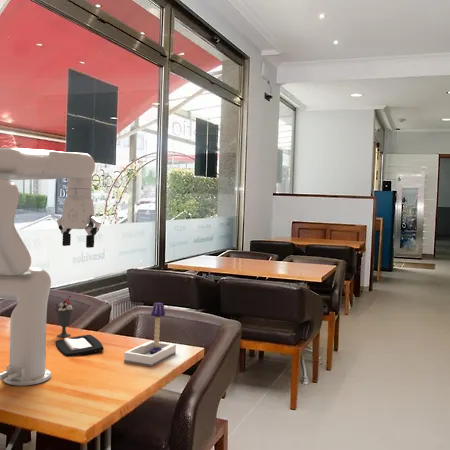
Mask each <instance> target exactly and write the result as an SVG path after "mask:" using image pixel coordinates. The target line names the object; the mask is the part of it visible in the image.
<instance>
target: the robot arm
mask: <svg viewBox="0 0 450 450" xmlns="http://www.w3.org/2000/svg"><path fill="white" fill-rule="evenodd" d="M95 163H96V162H95V160H94V157H92V156H91V154H89V153H85V152H70V151H67V152H66V151H59V150H58V151H56V150H49V149H38V148H37V149H35V148H22V147H20V148H19V147H0V299H2V300H9V301H10V300H12V301H18V302H17V304H16V306H15V308H13V310H12V312H11V315H10V323H9V328H10V329H9V331H10V332H9V365H6V369H5V370H4V371H2V372H0V381H2V380H3V382H4V383H5V384H7V385H10V386H21V387H22V386H31V385H32V386H33V385H38V384H41V383H44V382H46V381H48V380H50V378H51V377H52V372H51V370H49V369H47V368H46V358H47V357H46V355H47V352H46V351H47V311H48V301H49V296H50V291H51V286H52V284H51V283H52V280H51V275H50V274H49V273H48V272H47V271H46V270H44V269H43V268H39V267H37V266H36V267H35V266H32V265H31V264H32V256H31V254H30V252H29V250H28V248H27V246H26V244H25V243H24V240H23V239H22V237H21V236H20V234H19V233H18V231H17V228H16V227H15V218H16V212H17V208H18V206H19V205H18V204H19V200H20V191H19V188H18V186H17V184H16V183H15V182H14V181H23V180H24V181H26V180H27V181H28V180H31V181H32V180H57V179H59V180H60V179H67V190H66V191H65V195H67V197H65V198H64V202H63V208H62V215H61V216H62V217H60V218H58V219H57V221H56V223H57V226H58V229H59V231H60V233H61V234H62V243H61V244H62V246H63V247H66V246H71V241H72V240H71V239H72V238H71V237H72V236H71V233H70V232H71V231H72V230H85V232H86V236H85V237H86V238H85V247H86V248H88V249H90V248H94V247H95V236H96V235H97V233H98V232H99V231H100V227H101V225H102V222H101V221H100V220H98V219H97V218H96V217H95V209H94V208H95V205H94V200H93V199H92V182H93V181H92V179H93V173H94V172H95V168H96V164H95Z"/></svg>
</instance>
